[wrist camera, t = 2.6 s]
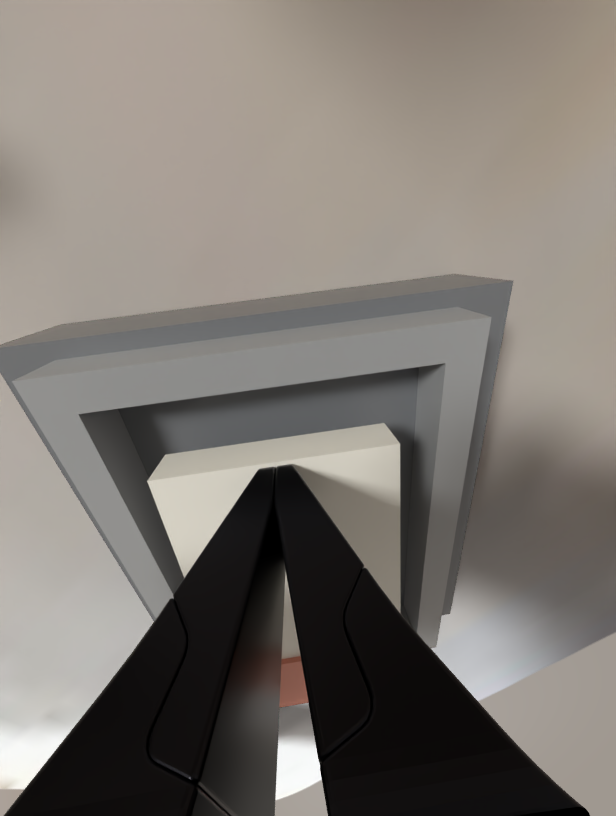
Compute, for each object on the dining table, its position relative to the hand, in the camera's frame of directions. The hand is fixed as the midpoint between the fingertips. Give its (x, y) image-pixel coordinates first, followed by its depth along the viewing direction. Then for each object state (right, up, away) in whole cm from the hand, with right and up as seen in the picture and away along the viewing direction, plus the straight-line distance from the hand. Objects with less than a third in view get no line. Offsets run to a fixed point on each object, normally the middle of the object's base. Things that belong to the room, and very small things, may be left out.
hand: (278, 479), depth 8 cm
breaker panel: (0, -1, +7) cm, 7 cm away
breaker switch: (0, -4, +2) cm, 4 cm away
